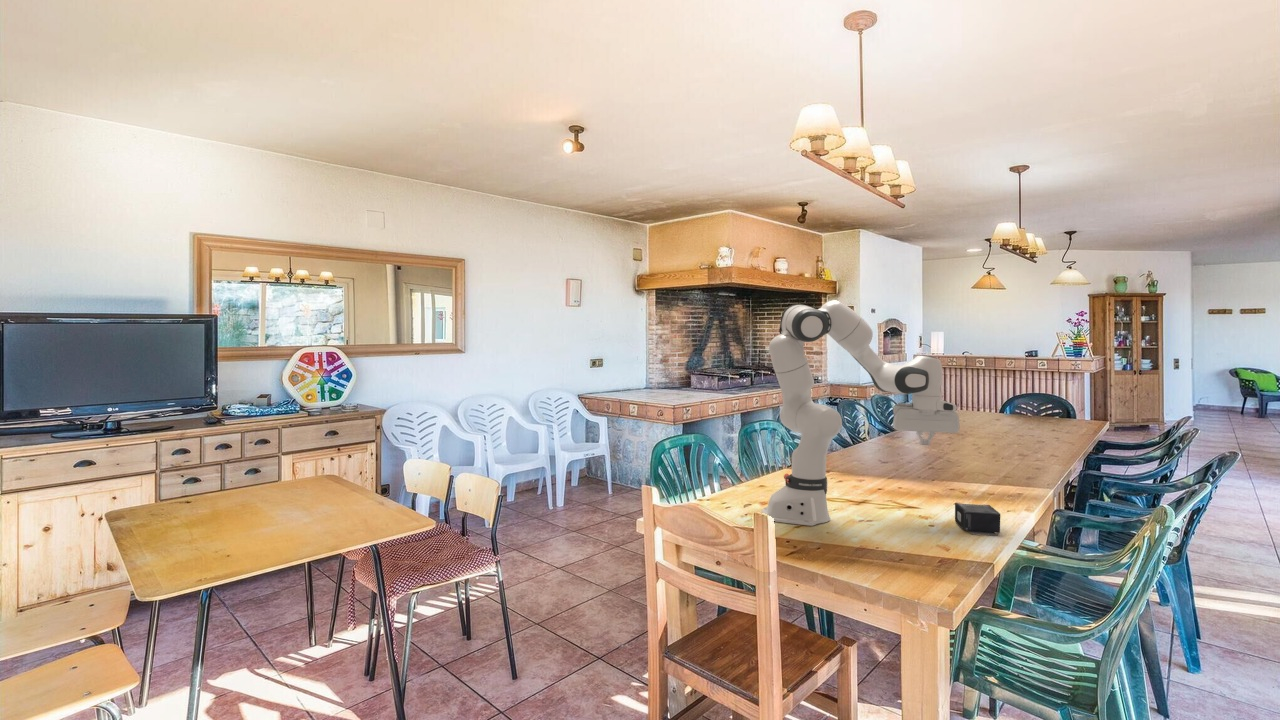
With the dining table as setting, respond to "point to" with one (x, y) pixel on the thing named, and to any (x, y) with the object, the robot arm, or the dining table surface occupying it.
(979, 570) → the dining table surface
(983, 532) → the mat
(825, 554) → the dining table surface
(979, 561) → the dining table surface
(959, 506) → the small box
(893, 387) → the robot arm
